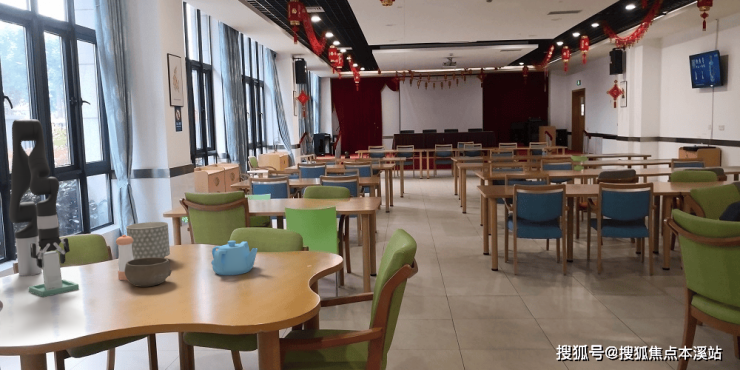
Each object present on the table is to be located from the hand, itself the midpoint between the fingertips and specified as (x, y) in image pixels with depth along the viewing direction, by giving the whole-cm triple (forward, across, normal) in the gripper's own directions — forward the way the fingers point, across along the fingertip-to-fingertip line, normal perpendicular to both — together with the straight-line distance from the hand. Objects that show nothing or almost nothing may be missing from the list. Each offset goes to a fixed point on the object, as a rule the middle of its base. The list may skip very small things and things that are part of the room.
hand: (51, 265), depth 249 cm
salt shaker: (+10, -28, +7) cm, 31 cm away
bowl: (+10, -28, +25) cm, 39 cm away
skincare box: (+10, 0, 0) cm, 10 cm away
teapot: (+10, -62, +38) cm, 74 cm away
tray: (+10, 0, 0) cm, 10 cm away
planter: (+11, -51, -15) cm, 54 cm away
